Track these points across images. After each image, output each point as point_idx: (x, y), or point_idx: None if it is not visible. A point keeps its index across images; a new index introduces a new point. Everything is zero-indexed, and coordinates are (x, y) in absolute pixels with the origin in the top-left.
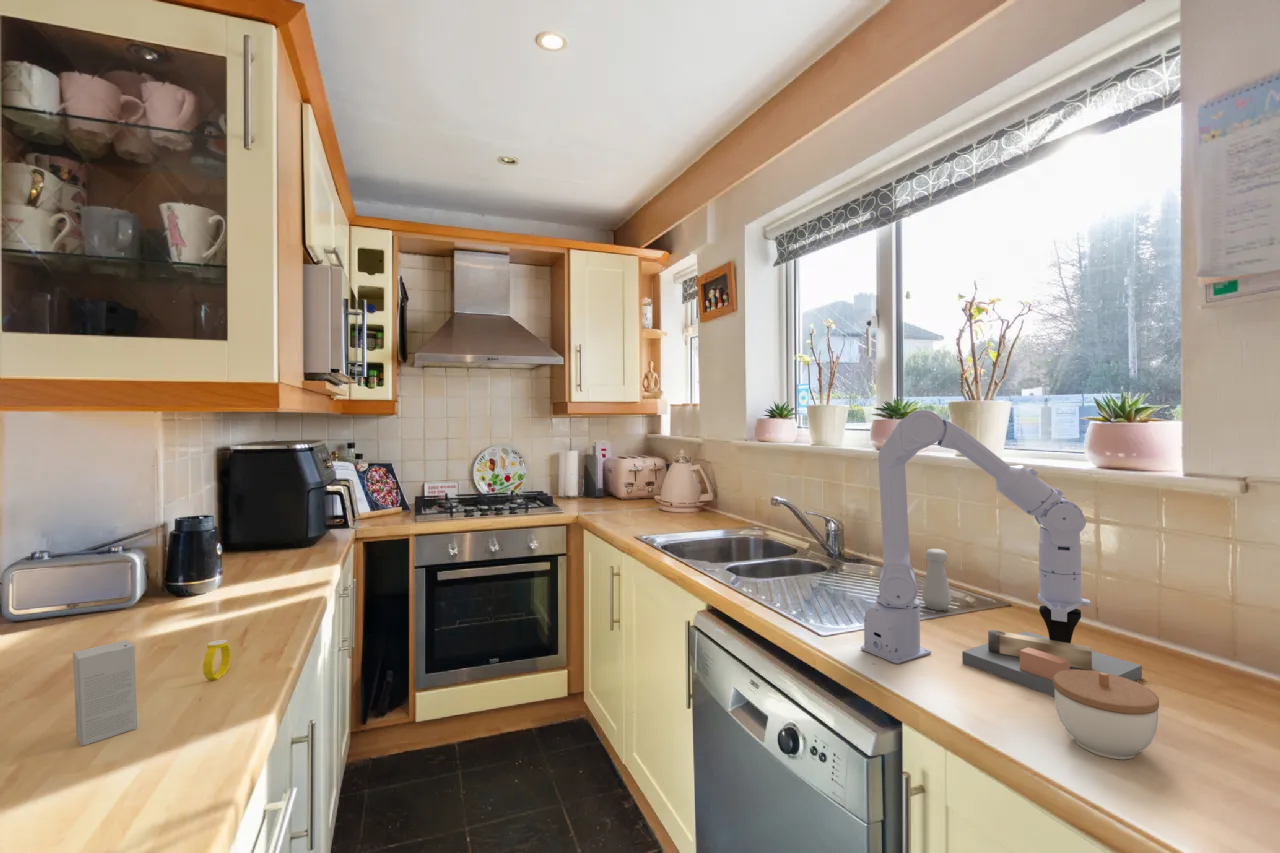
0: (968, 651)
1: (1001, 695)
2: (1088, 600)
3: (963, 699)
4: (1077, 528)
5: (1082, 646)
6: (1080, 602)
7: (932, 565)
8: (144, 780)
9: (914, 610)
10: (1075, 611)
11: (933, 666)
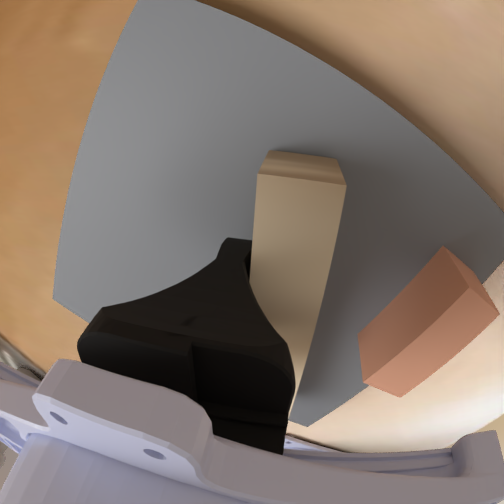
0: (302, 420)
1: (467, 352)
2: (74, 419)
3: (483, 390)
4: None
5: (275, 215)
6: (230, 487)
7: (6, 447)
8: None
9: None
10: (162, 374)
11: (349, 430)
